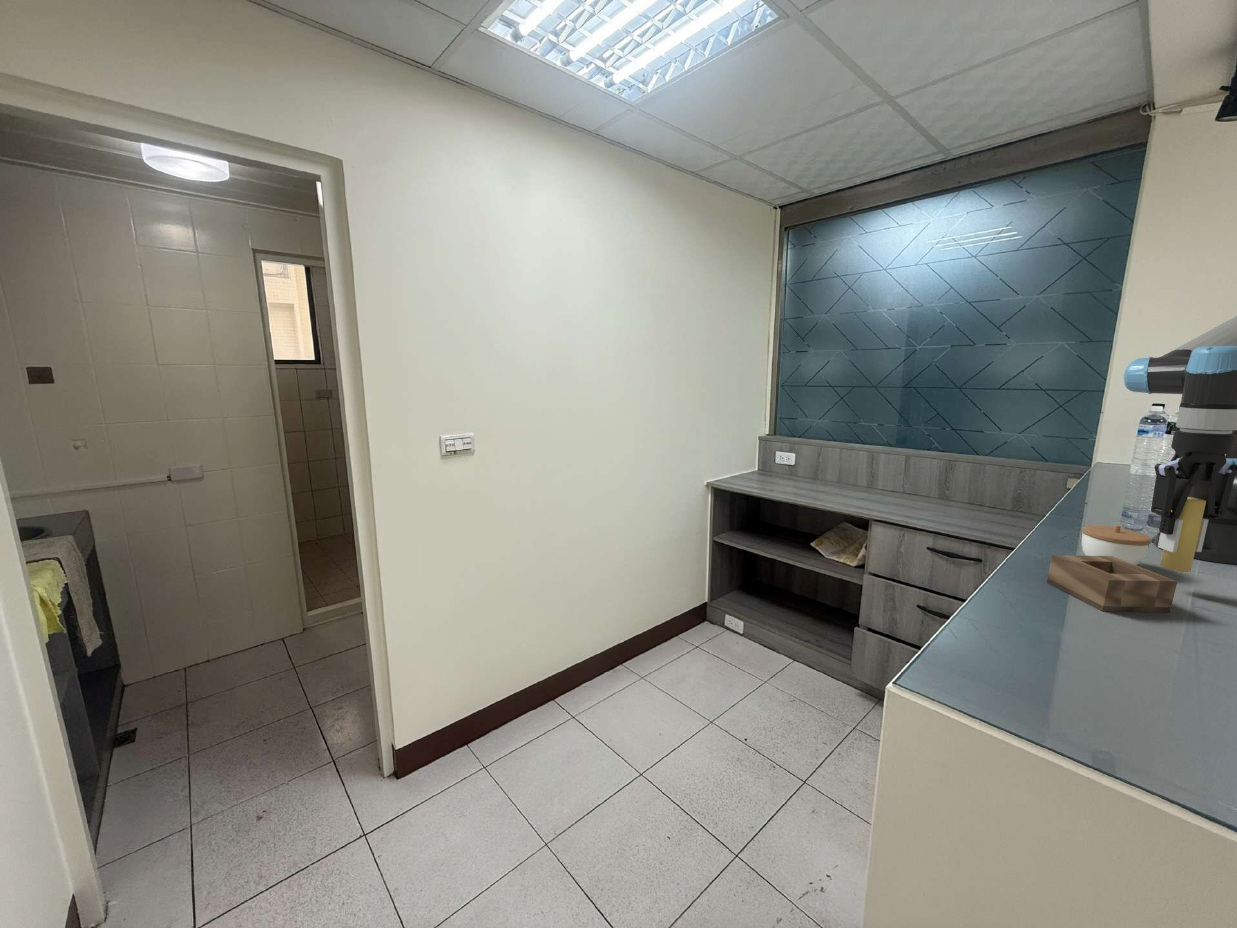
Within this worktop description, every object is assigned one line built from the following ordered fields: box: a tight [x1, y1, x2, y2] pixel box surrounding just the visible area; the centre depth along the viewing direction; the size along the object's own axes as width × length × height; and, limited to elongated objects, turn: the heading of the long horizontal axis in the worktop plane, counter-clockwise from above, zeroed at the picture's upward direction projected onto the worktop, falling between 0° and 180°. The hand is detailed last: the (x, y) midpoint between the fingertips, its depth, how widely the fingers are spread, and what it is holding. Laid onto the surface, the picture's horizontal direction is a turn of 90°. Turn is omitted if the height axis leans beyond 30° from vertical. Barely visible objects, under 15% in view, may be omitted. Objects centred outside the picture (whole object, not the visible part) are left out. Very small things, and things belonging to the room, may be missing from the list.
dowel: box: [1159, 497, 1206, 573], centre depth 95 cm, size 4×4×14 cm
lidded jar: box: [1081, 524, 1152, 566], centre depth 109 cm, size 11×11×9 cm
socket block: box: [1046, 554, 1178, 613], centre depth 94 cm, size 12×12×6 cm
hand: (1179, 549), depth 95 cm, fingers closed on dowel, 4 cm apart
